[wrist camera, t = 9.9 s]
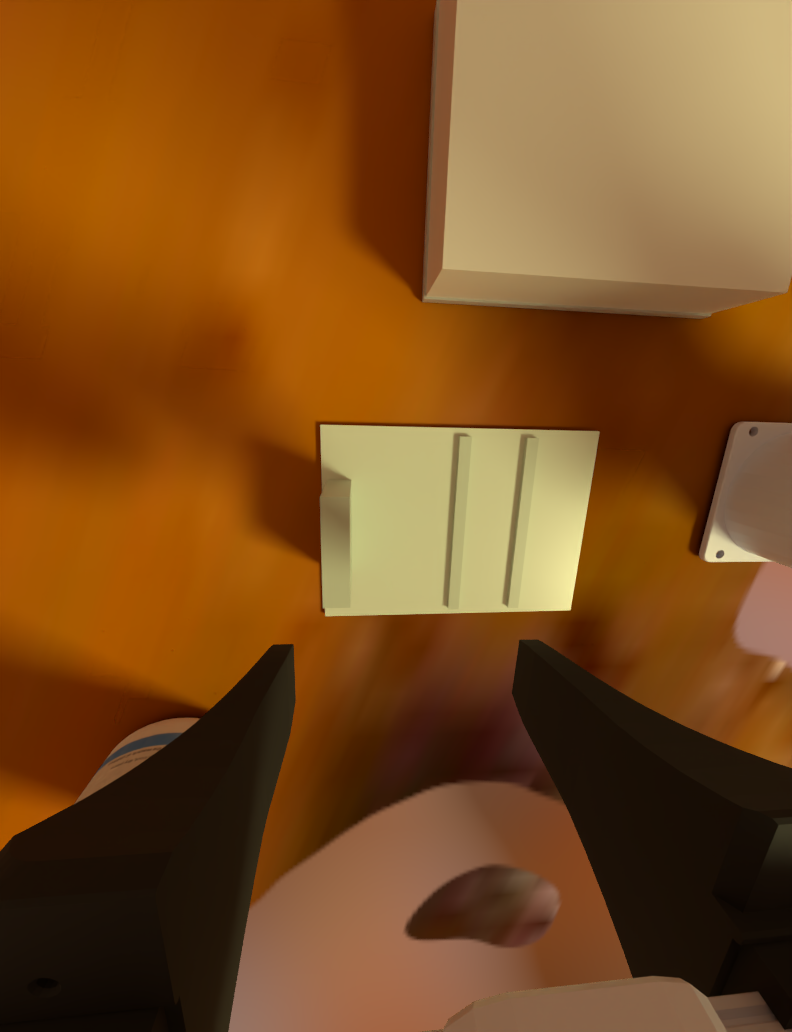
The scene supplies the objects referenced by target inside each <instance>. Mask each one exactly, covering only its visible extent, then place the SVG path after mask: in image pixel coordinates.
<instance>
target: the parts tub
mask: <svg viewBox="0 0 792 1032" xmlns="http://www.w3.org/2000/svg"><path fill="white" fill-rule="evenodd" d="M791 276H792V0H437V2H436V7H435V12H434V32H433V56H432V79H431V102H430V125H429V148H428V172H427V195H426V218H425V241H424V264H423V288H422V302H431V303H448V304H464V305H481V306H498V307H514V308H531V309H547V310H564V311H581V312H597V313H614V314H630V315H647V316H664V317H680V318H697V319H703V318H707V317H710V316H711V313H715V312H719V311H722V310H726V309H730V308H733V307H737V306H740V305H744V304H748V303H751V302H755V301H759V300H762V299H766V298H770V297H773V296H777V295H781V294H784V293H787V291H788V288H789V284H790V280H791Z"/></svg>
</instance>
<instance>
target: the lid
mask: <svg viewBox="0 0 792 1032" xmlns="http://www.w3.org/2000/svg"><path fill="white" fill-rule="evenodd" d="M599 433H600V431H574V430H532V429H489V428H447V427H405V426H362V425H320V436H321V475H322V493H321V495H320V524H321V561H322V597H323V608H325V616H355V615H396V614H436V613H477V612H517V611H558V610H571V604H572V598H573V592H574V586H575V580H576V573H577V567H578V561H579V555H580V549H581V543H582V537H583V531H584V525H585V519H586V513H587V506H588V500H589V494H590V488H591V482H592V476H593V470H594V464H595V458H596V452H597V446H598V440H599Z"/></svg>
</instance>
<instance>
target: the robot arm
mask: <svg viewBox="0 0 792 1032" xmlns="http://www.w3.org/2000/svg"><path fill="white" fill-rule="evenodd" d="M750 429H751V432H750V434H749V431H750ZM717 552H718V553H717ZM716 553H717V554H716ZM699 557H700V558H701V559H702V560H704V561H706V562H777V563H779V564H782V565H785V566H788V567H791V568H792V423H773V422H737V423H736V424H734V426H733V427H732V429H731V431H730V435H729V439H728V443H727V447H726V450H725V454H724V458H723V462H722V466H721V470H720V474H719V478H718V481H717V485H716V489H715V493H714V497H713V501H712V505H711V509H710V512H709V516H708V520H707V524H706V528H705V532H704V536H703V540H702V543H701V547H700V551H699ZM512 694H513V697H514V700H515V703H516V706H517V708H518V711H519V714H520V716H521V719H522V721H523V724H524V726H525V728H526V730H527V732H528V734H529V736H530V738H531V740H532V742H533V744H534V745H535V747H536V749H537V751H538V753H539V755H540V757H541V759H542V761H543V763H544V764H545V766H546V768H547V770H548V772H549V774H550V776H551V778H552V780H553V781H554V783H555V785H556V787H557V789H558V791H559V793H560V795H561V797H562V799H563V801H564V803H565V805H566V807H567V809H568V811H569V813H570V816H571V818H572V820H573V823H574V825H575V827H576V830H577V832H578V835H579V837H580V839H581V842H582V844H583V846H584V848H585V851H586V854H587V856H588V859H589V861H590V864H591V866H592V869H593V871H594V874H595V876H596V879H597V882H598V884H599V887H600V889H601V892H602V894H603V897H604V899H605V902H606V905H607V907H608V910H609V913H610V916H611V918H612V921H613V924H614V926H615V929H616V932H617V935H618V937H619V940H620V943H621V945H622V948H623V951H624V954H625V957H626V959H627V963H628V965H629V968H630V971H631V974H632V977H633V978H631V979H622V980H613V981H604V982H596V983H586V984H578V985H568V986H560V987H551V988H542V989H533V990H524V991H515V992H507V993H503V994H499V995H496V996H492V997H489V998H485V999H481V1000H478V1001H475V1002H473V1003H471V1004H470V1005H468V1006H467V1007H465V1008H464V1009H462V1010H461V1011H460V1012H458V1013H457V1014H455V1015H454V1016H452V1017H451V1018H450V1019H448V1021H447V1023H446V1025H445V1027H444V1029H442V1030H432V1031H425V1032H792V768H789V767H786V766H783V765H780V764H777V763H774V762H771V761H769V760H766V759H763V758H760V757H758V756H755V755H752V754H750V753H747V752H744V751H742V750H739V749H737V748H734V747H732V746H729V745H727V744H724V743H722V742H719V741H717V740H715V739H712V738H710V737H708V736H706V735H703V734H701V733H699V732H696V731H694V730H692V729H690V728H687V727H685V726H683V725H681V724H679V723H677V722H675V721H673V720H671V719H669V718H667V717H665V716H663V715H661V714H659V713H657V712H655V711H653V710H651V709H649V708H647V707H645V706H644V705H642V704H640V703H638V702H636V701H635V700H633V699H631V698H629V697H628V696H626V695H624V694H623V693H621V692H619V691H618V690H616V689H614V688H612V687H611V686H609V685H608V684H606V683H604V682H603V681H601V680H600V679H598V678H596V677H595V676H593V675H592V674H590V673H589V672H587V671H586V670H584V669H583V668H581V667H580V666H578V665H577V664H575V663H574V662H572V661H571V660H569V659H568V658H566V657H565V656H563V655H562V654H560V653H559V652H557V651H555V650H554V649H552V648H551V647H549V646H548V645H546V644H544V643H543V642H541V641H539V640H520V641H519V648H518V655H517V662H516V669H515V676H514V683H513V690H512ZM294 707H295V673H294V646H293V644H283V645H272V646H271V647H270V648H269V649H268V650H267V651H266V653H265V654H264V655H263V656H262V657H261V658H260V659H259V660H258V662H257V663H256V664H255V665H254V666H253V667H252V668H251V669H250V670H249V672H248V673H247V674H246V675H245V676H244V677H243V678H242V679H241V680H240V681H239V682H238V683H237V684H236V685H235V686H234V687H233V688H232V689H231V690H230V691H229V692H228V693H227V694H226V695H225V696H224V697H223V698H222V699H221V700H220V701H219V702H218V703H217V704H216V705H215V706H214V707H213V708H211V709H210V710H209V711H208V712H207V713H206V714H205V715H204V716H203V717H202V718H200V719H199V720H198V721H197V722H196V723H195V724H193V725H192V726H191V727H190V728H188V729H187V730H186V731H185V732H183V733H182V734H181V735H180V736H178V737H177V738H176V739H174V740H173V741H172V742H170V743H169V744H168V745H166V746H165V747H163V748H162V749H161V750H159V751H158V752H156V753H155V754H153V755H152V756H151V757H149V758H148V759H146V760H145V761H143V762H142V763H141V764H139V765H138V766H136V767H135V768H133V769H132V770H130V771H129V772H127V773H125V774H124V775H122V776H121V777H119V778H118V779H116V780H114V781H113V782H111V783H109V784H108V785H106V786H104V787H103V788H101V789H99V790H98V791H96V792H94V793H93V794H91V795H89V796H88V797H86V798H84V799H82V800H81V801H79V802H77V803H75V804H74V805H72V806H70V807H68V808H66V809H64V810H62V811H60V812H59V813H57V814H55V815H53V816H51V817H49V818H47V819H45V820H44V821H42V822H40V823H38V824H36V825H34V826H32V827H30V828H29V829H27V830H25V831H23V832H21V833H19V834H17V835H15V836H13V837H12V839H11V840H10V841H9V842H8V843H7V844H6V845H5V847H4V848H3V849H2V850H1V851H0V1032H228V1030H229V1023H230V1017H231V1011H232V1005H233V998H234V992H235V987H236V981H237V975H238V969H239V963H240V957H241V951H242V946H243V939H244V934H245V928H246V922H247V917H248V911H249V906H250V900H251V895H252V889H253V884H254V878H255V873H256V868H257V863H258V857H259V852H260V847H261V842H262V836H263V832H264V828H265V823H266V819H267V815H268V811H269V808H270V804H271V801H272V797H273V794H274V790H275V786H276V783H277V779H278V776H279V772H280V769H281V765H282V762H283V758H284V754H285V751H286V747H287V743H288V740H289V736H290V731H291V725H292V720H293V713H294Z"/></svg>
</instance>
